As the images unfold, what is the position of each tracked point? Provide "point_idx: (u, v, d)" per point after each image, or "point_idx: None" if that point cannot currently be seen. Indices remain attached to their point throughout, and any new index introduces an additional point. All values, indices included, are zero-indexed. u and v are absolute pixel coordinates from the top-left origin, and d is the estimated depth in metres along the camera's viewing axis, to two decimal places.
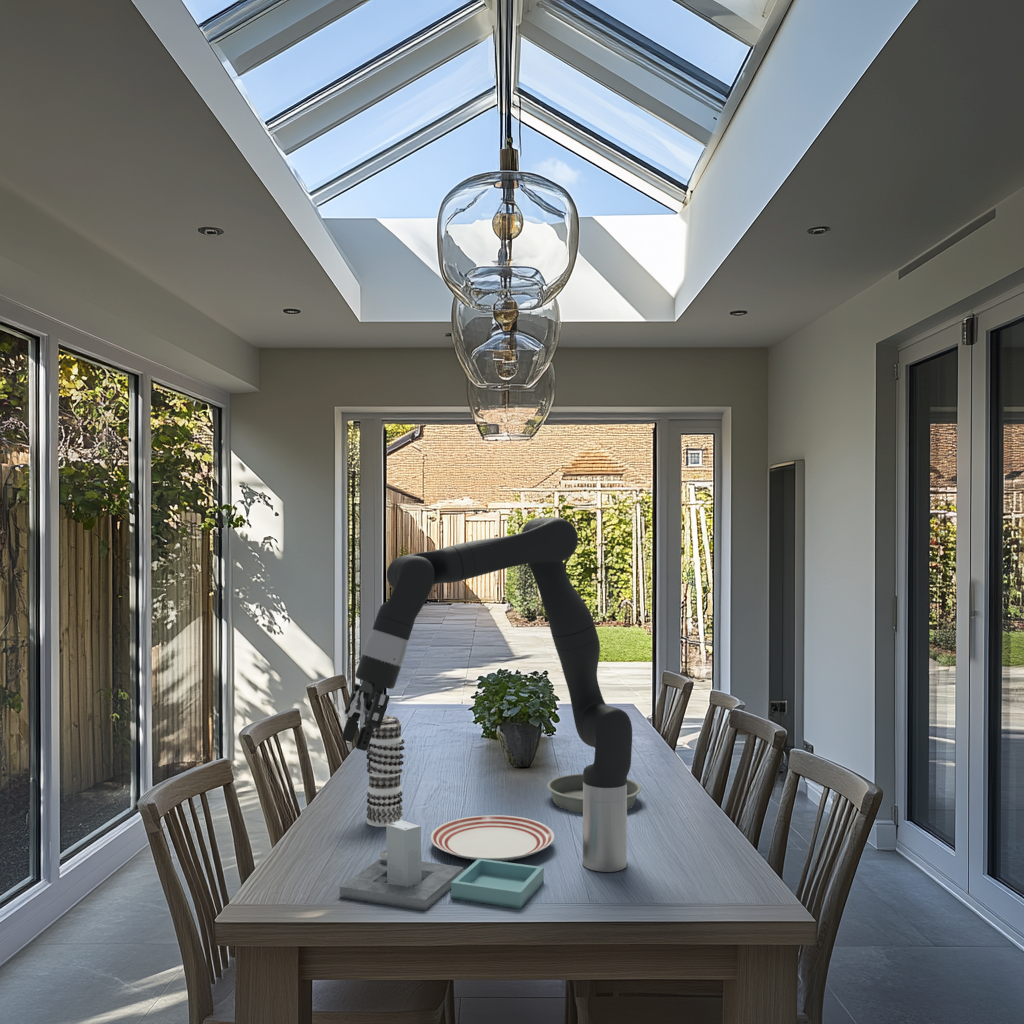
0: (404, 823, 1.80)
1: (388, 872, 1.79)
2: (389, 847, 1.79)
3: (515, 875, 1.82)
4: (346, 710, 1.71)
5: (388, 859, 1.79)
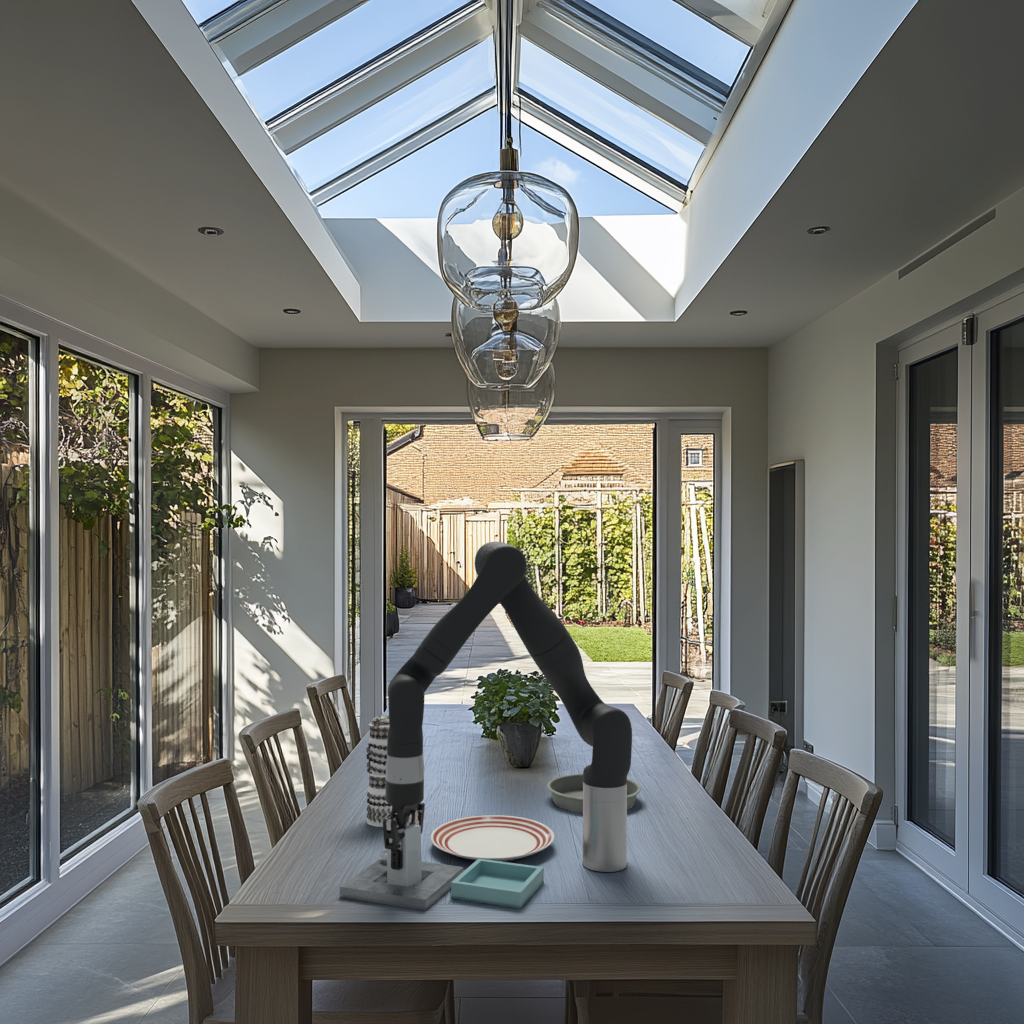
0: None
1: (388, 872, 1.79)
2: None
3: (515, 875, 1.82)
4: None
5: (388, 859, 1.79)
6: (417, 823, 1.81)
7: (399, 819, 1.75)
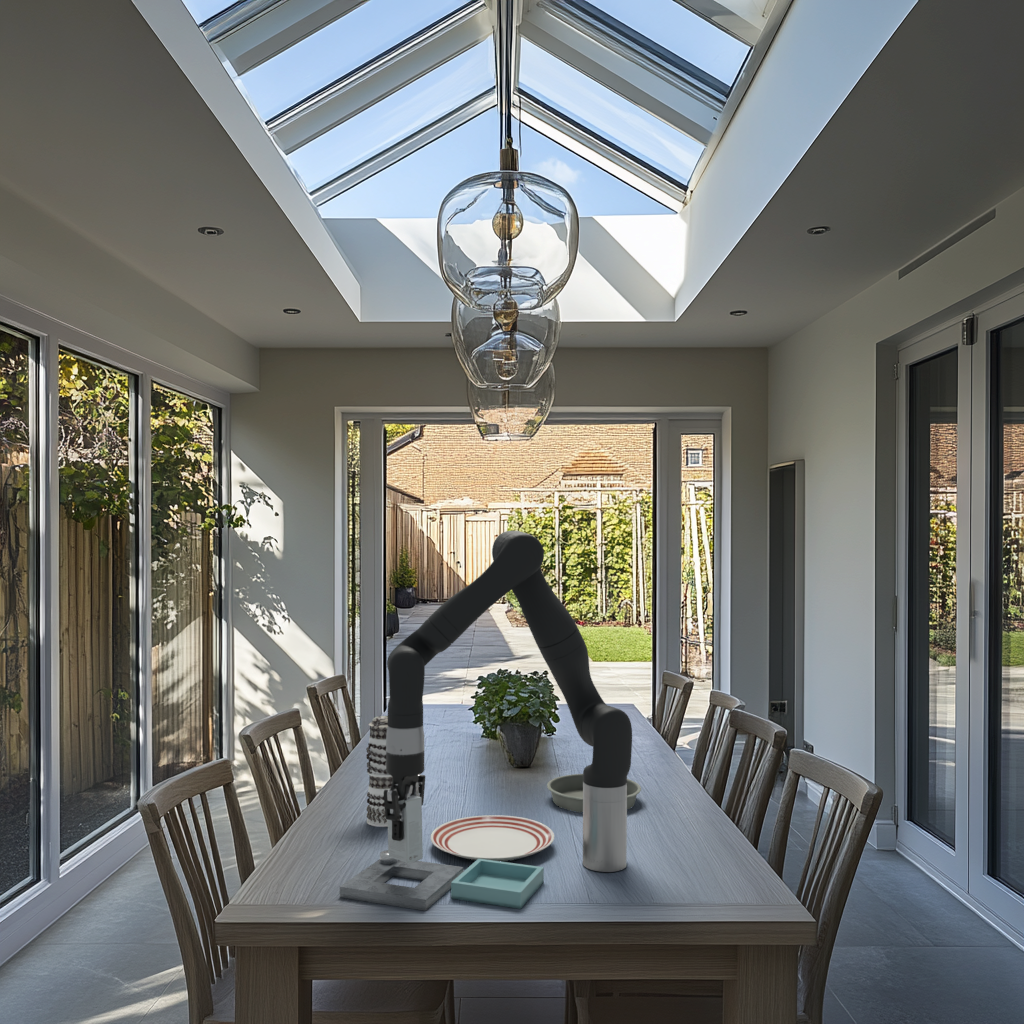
0: None
1: (389, 843, 1.79)
2: None
3: (515, 875, 1.82)
4: None
5: (389, 831, 1.79)
6: (418, 795, 1.81)
7: (400, 790, 1.75)
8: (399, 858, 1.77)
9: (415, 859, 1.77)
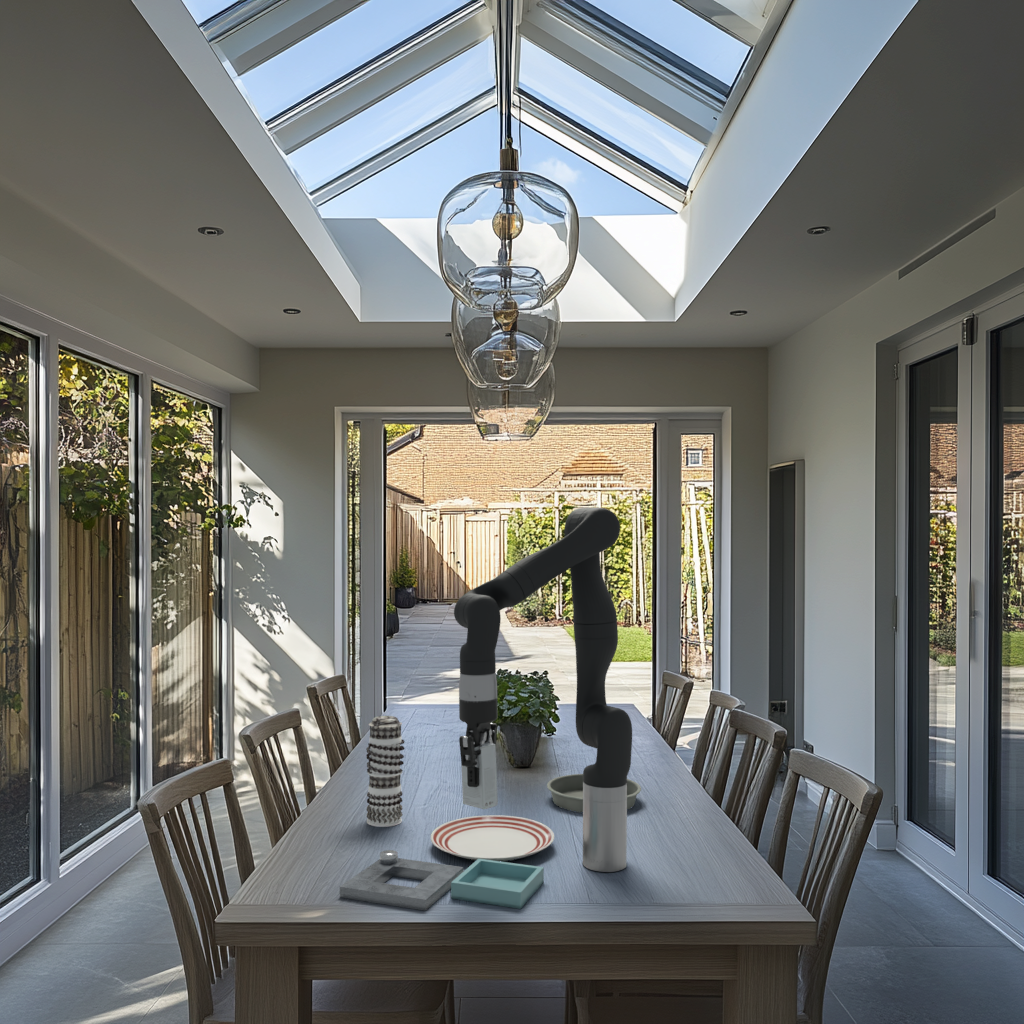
0: None
1: (463, 791, 1.79)
2: (464, 766, 1.78)
3: (515, 875, 1.82)
4: None
5: (463, 778, 1.79)
6: (491, 742, 1.80)
7: (475, 736, 1.75)
8: (474, 805, 1.77)
9: (491, 805, 1.77)
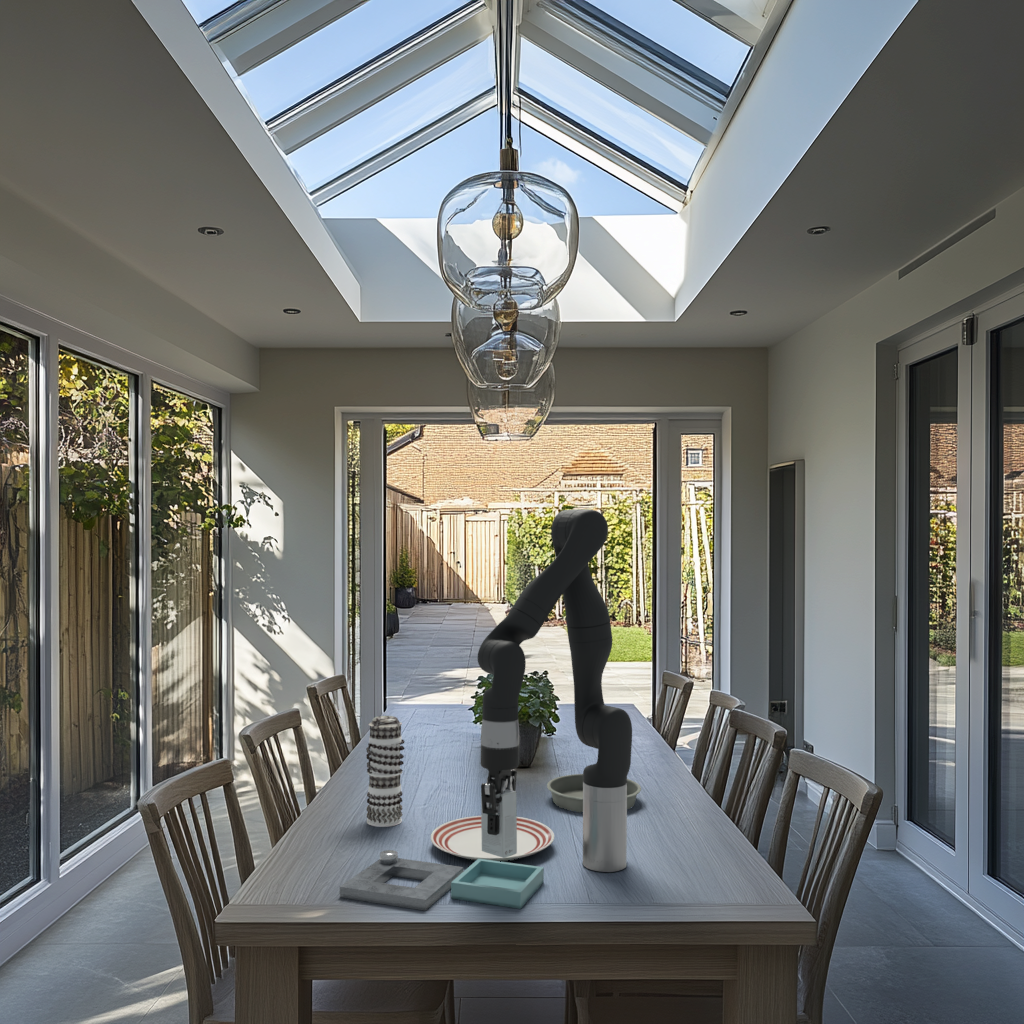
0: None
1: (483, 838, 1.78)
2: None
3: (515, 875, 1.82)
4: None
5: (483, 825, 1.78)
6: (511, 789, 1.80)
7: (496, 784, 1.74)
8: (494, 853, 1.75)
9: (510, 854, 1.75)
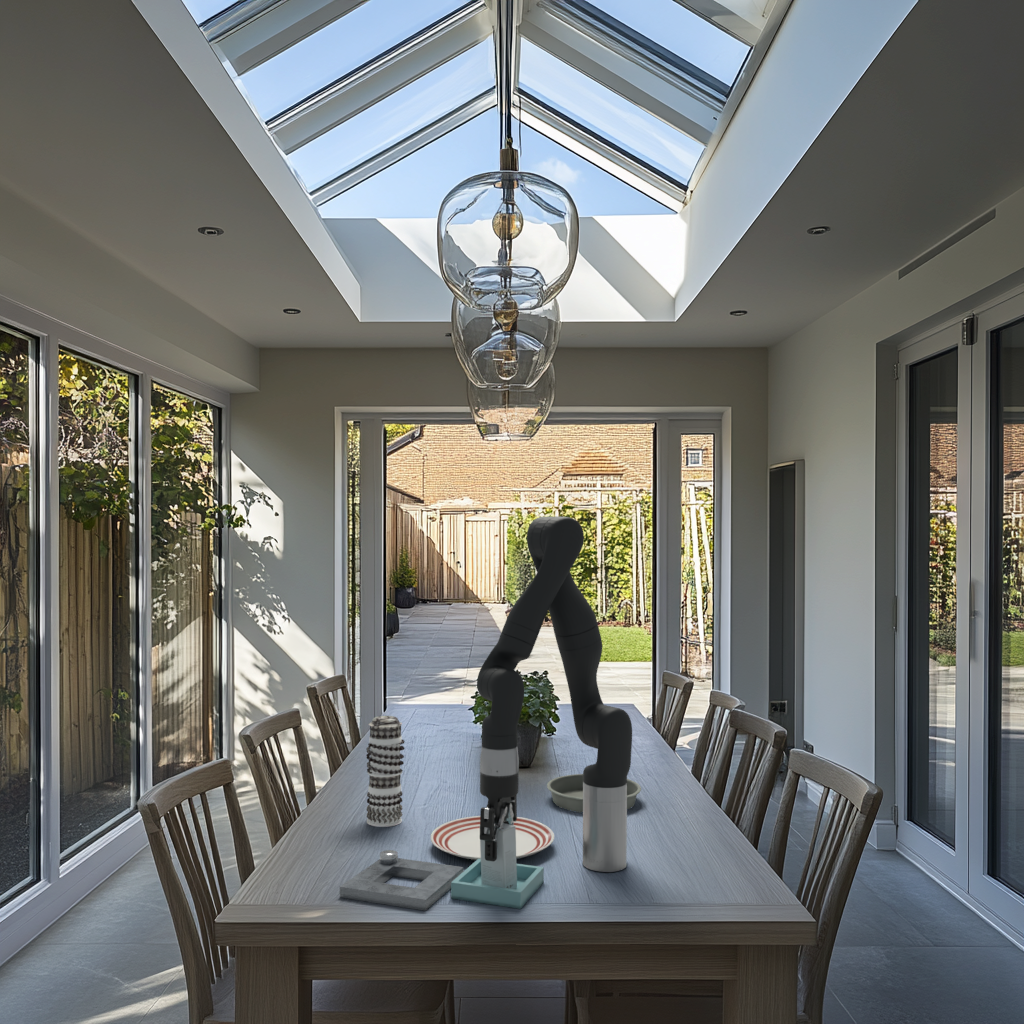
0: None
1: (482, 873, 1.77)
2: (483, 848, 1.77)
3: None
4: None
5: (482, 860, 1.77)
6: (512, 813, 1.80)
7: (496, 810, 1.74)
8: None
9: (511, 888, 1.75)
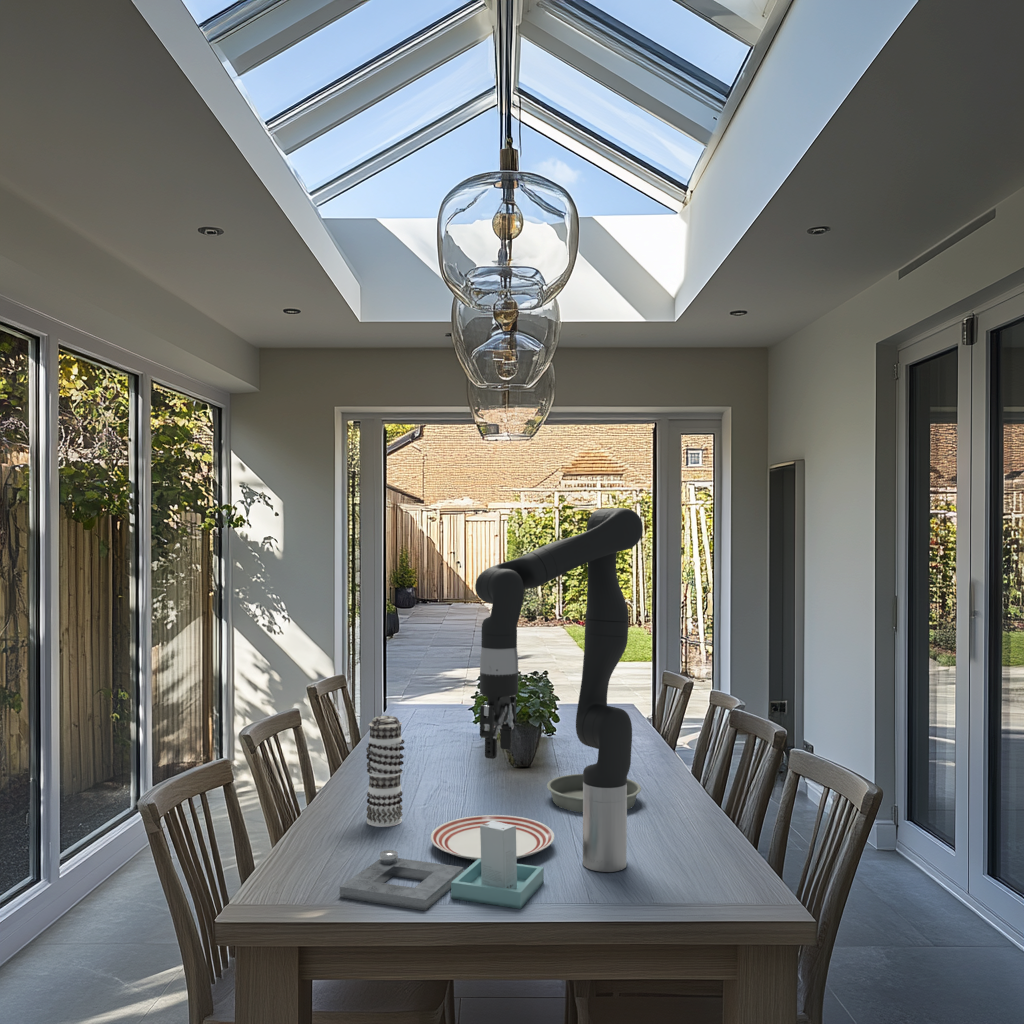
0: (498, 823, 1.78)
1: (483, 873, 1.77)
2: (484, 848, 1.77)
3: None
4: None
5: (483, 860, 1.77)
6: (512, 715, 1.81)
7: (496, 709, 1.75)
8: None
9: None
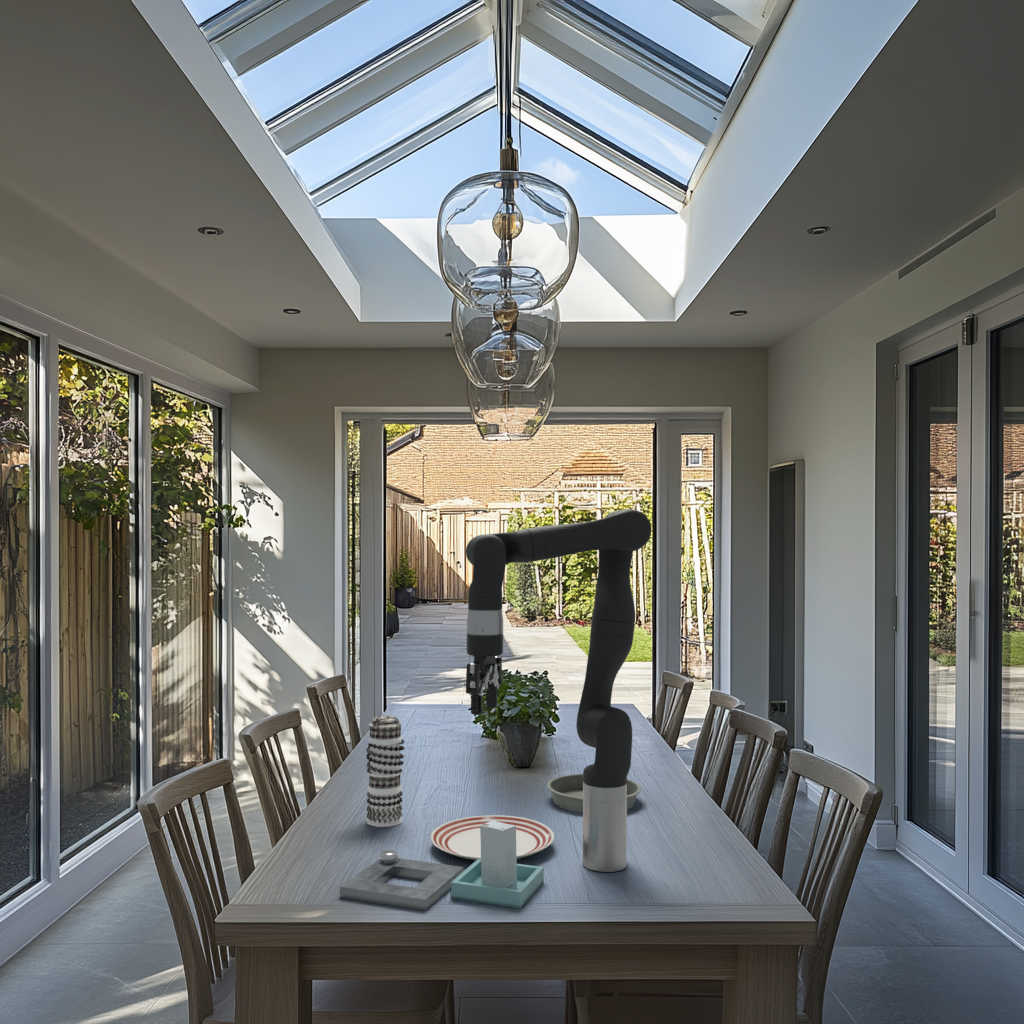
0: (498, 823, 1.78)
1: (483, 873, 1.77)
2: (484, 848, 1.77)
3: None
4: None
5: (483, 860, 1.77)
6: (497, 675, 1.89)
7: (481, 667, 1.83)
8: None
9: None
